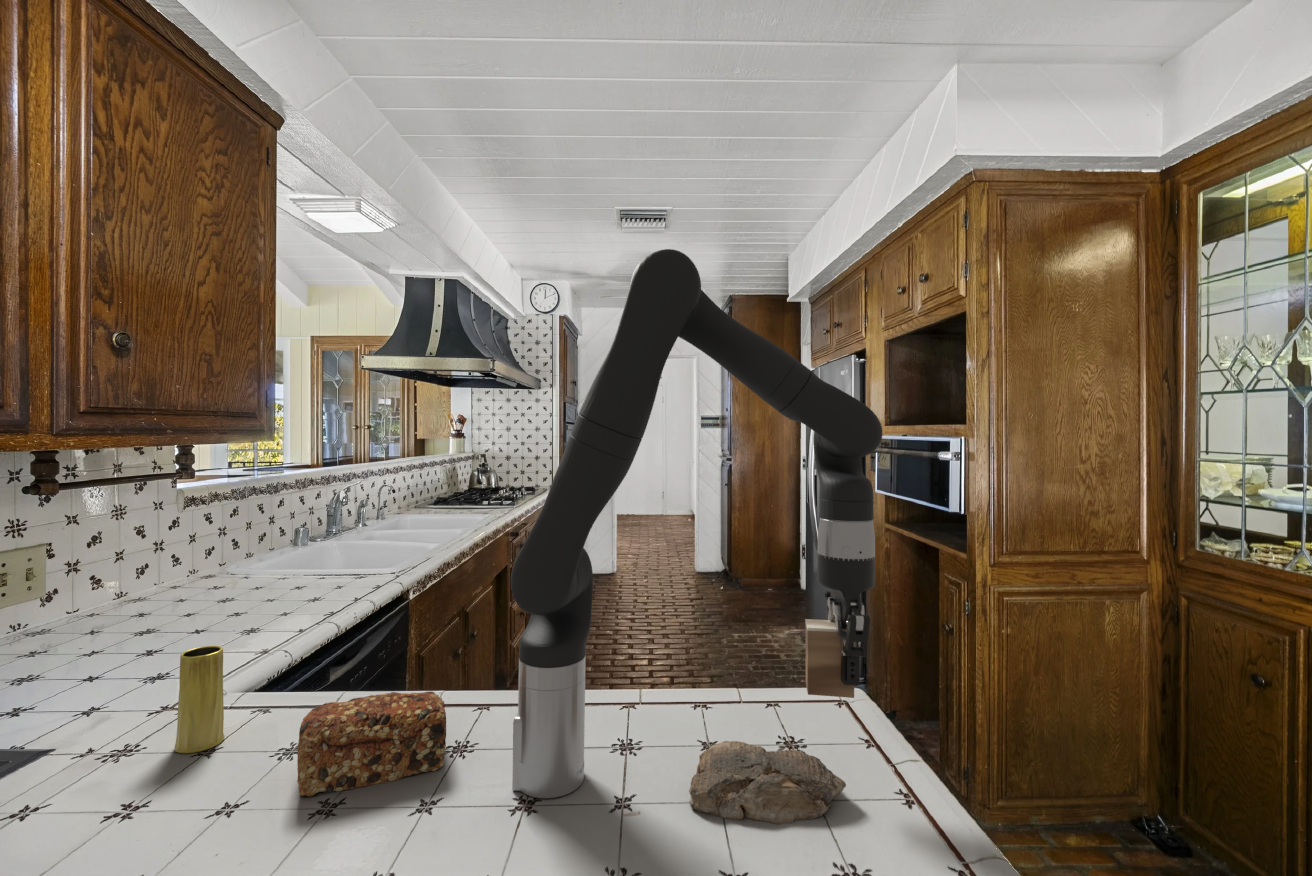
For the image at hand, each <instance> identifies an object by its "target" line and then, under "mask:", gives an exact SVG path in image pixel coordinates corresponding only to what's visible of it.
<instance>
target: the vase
mask: <svg viewBox="0 0 1312 876" xmlns="http://www.w3.org/2000/svg"><path fill="white" fill-rule="evenodd" d="M179 658H180V659H179V660H180V662H179V690H178V702H177V703H178V704H177V706H178V707H177V722H176V724H177V727H176V736H175V737H176V738H175V744H174V751H175V752H176V753H177V754H178V753H179V754H186V755H187V754H195V753H201V752H205V751H207V750H209V749H210V750H211V749H212V748H214V746H215V747H216V746H218V745H220V744H221V743H222V742H223V741H224V739H225V734H224V720H225V719H224V717H225V716H224V715H225V714H224V713H225V712H224V711H225V710H224V708H225V707H224V648H223V647H222V646H221V645H205V646H199V647H194V648H190V649H188V650H187V649H186V650H185V651H183V652H182V653H181V654H180V657H179Z"/></svg>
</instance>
